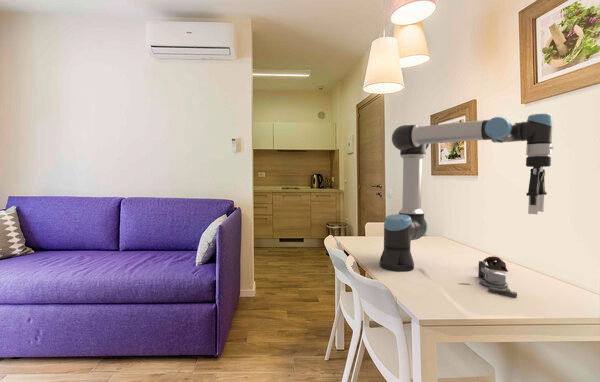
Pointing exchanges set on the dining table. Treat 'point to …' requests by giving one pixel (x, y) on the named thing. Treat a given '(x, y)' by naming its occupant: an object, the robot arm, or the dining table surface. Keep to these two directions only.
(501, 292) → the stand board
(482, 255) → the dining table surface
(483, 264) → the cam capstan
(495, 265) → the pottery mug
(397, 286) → the dining table surface
